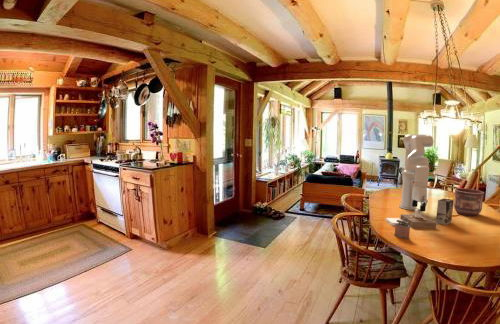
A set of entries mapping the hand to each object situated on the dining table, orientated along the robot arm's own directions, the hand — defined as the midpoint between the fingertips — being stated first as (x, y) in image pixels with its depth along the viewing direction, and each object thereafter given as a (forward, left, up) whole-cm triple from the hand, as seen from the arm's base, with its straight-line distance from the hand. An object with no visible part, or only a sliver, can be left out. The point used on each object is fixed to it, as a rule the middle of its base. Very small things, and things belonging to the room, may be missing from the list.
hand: (418, 208), depth 184 cm
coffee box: (-3, +19, -11) cm, 22 cm away
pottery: (-26, +50, -11) cm, 58 cm away
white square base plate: (+1, -15, -10) cm, 18 cm away
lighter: (+25, -22, -11) cm, 34 cm away
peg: (0, 0, -10) cm, 10 cm away
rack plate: (+1, 0, -10) cm, 10 cm away
